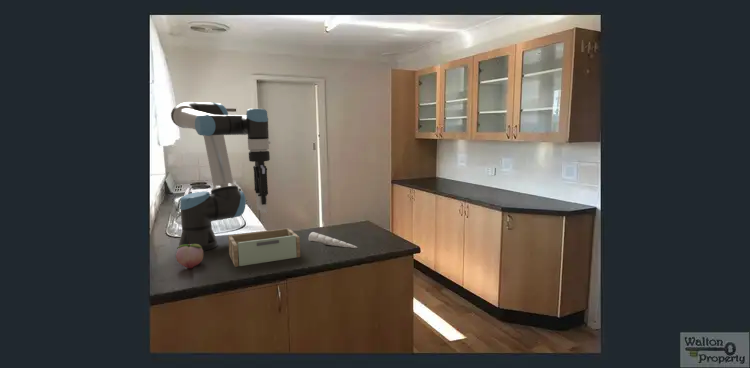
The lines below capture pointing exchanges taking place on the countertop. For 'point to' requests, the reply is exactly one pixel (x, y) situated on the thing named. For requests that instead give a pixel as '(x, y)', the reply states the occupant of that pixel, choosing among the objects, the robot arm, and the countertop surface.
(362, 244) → the countertop surface
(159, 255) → the countertop surface
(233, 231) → the countertop surface
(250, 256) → the pale green panel
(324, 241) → the unicorn horn
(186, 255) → the decorative fruit
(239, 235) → the box
